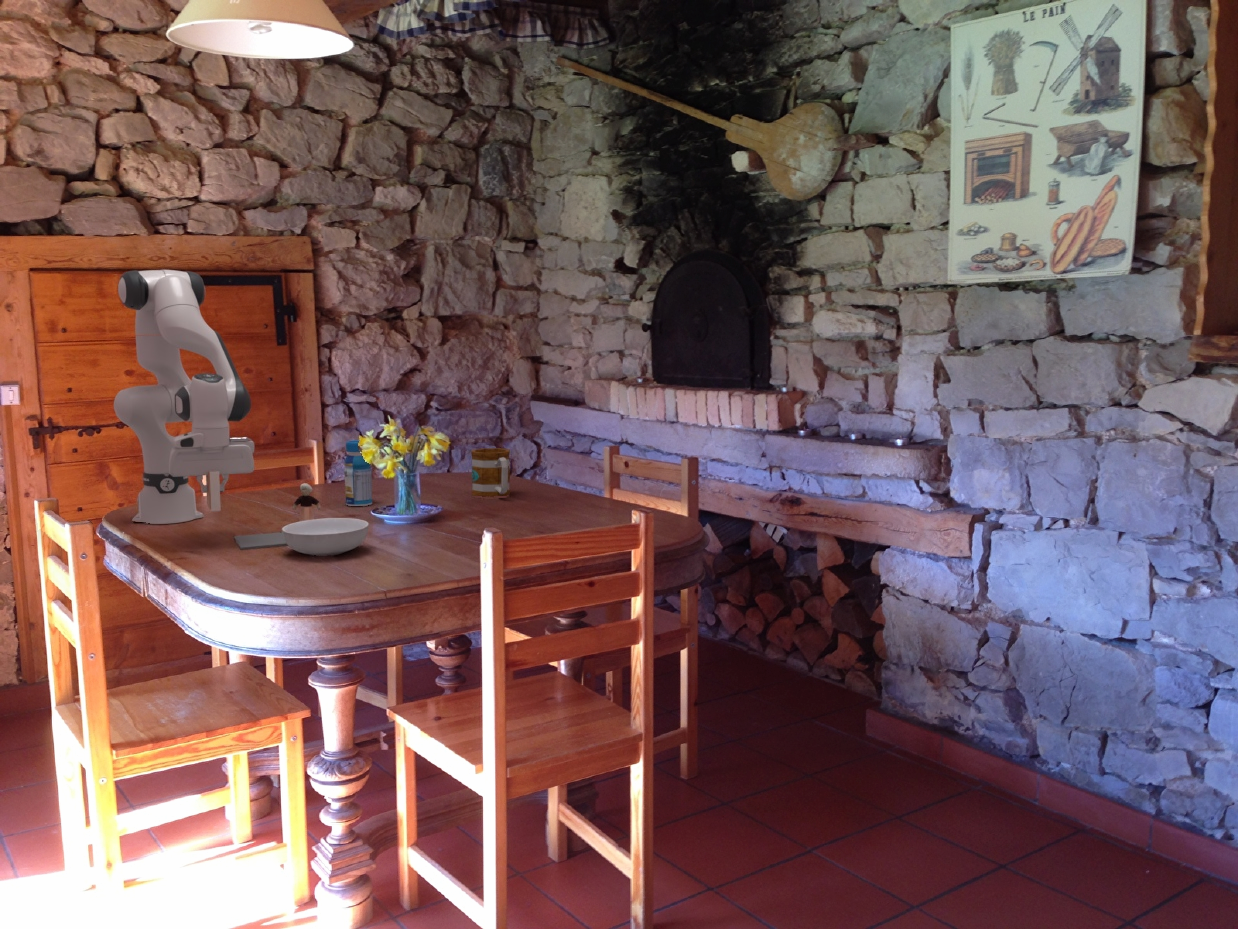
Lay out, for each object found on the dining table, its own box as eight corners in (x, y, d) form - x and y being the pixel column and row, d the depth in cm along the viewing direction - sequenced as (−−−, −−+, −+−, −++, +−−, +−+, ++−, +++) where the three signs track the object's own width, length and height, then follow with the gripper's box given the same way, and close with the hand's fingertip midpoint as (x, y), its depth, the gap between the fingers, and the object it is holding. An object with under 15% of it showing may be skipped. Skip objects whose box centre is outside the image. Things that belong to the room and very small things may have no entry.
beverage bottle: (366, 507, 320) (364, 443, 317) (340, 506, 321) (338, 442, 318) (377, 502, 328) (375, 440, 325) (351, 502, 330) (349, 439, 327)
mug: (464, 494, 345) (464, 449, 343) (502, 491, 351) (502, 447, 349) (486, 503, 328) (485, 456, 326) (525, 500, 334) (525, 454, 332)
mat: (233, 538, 275) (233, 536, 275) (296, 533, 282) (296, 531, 282) (240, 549, 262) (240, 547, 262) (306, 543, 269) (306, 541, 269)
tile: (207, 505, 268) (205, 467, 267) (217, 504, 269) (215, 466, 268) (210, 511, 261) (208, 472, 260) (220, 510, 262) (219, 471, 261)
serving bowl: (336, 539, 275) (335, 514, 274) (386, 551, 262) (385, 524, 261) (266, 553, 259) (265, 526, 258) (315, 566, 246) (314, 537, 245)
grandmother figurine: (292, 530, 286) (291, 484, 284) (293, 527, 290) (291, 482, 288) (321, 528, 288) (320, 483, 286) (321, 526, 292) (320, 481, 290)
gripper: (252, 435, 270) (254, 487, 272) (166, 438, 261) (169, 492, 263) (255, 438, 264) (257, 491, 267) (168, 441, 255) (171, 496, 257)
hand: (213, 492), depth 265 cm, fingers closed on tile, 2 cm apart
